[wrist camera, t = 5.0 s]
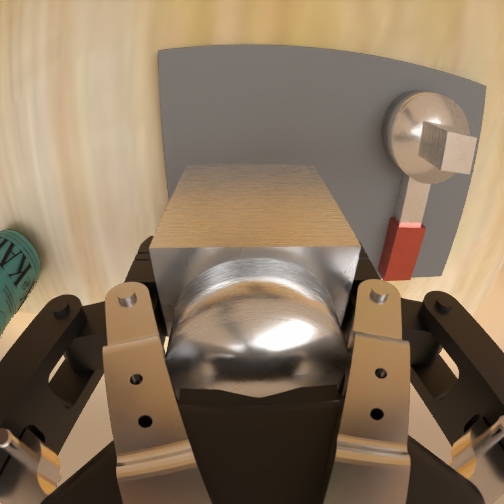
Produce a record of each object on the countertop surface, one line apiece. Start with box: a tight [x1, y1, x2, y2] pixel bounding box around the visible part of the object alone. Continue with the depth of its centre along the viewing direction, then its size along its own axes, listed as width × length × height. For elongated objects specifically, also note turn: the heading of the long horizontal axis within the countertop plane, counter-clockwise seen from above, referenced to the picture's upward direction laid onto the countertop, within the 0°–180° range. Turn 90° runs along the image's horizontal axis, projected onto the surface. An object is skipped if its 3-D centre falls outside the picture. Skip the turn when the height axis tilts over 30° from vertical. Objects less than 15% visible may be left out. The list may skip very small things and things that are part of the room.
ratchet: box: [378, 90, 477, 281], centre depth 20 cm, size 6×15×5 cm, turn 0°
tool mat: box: [158, 45, 486, 279], centre depth 22 cm, size 24×18×1 cm
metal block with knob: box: [149, 164, 361, 399], centre depth 10 cm, size 5×5×8 cm
